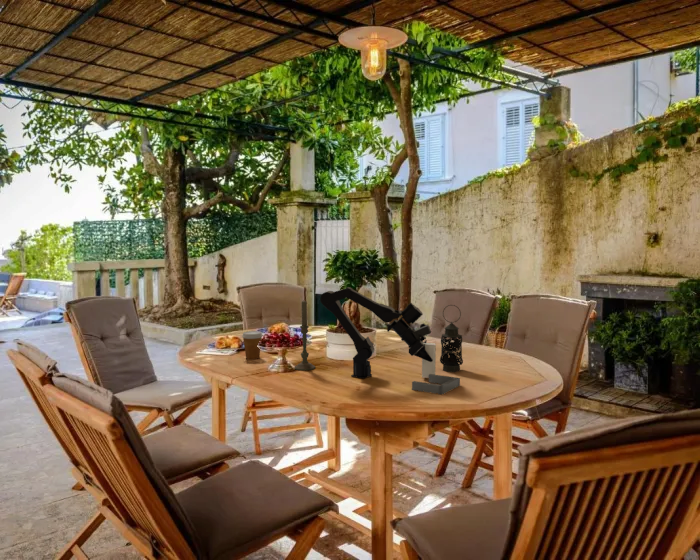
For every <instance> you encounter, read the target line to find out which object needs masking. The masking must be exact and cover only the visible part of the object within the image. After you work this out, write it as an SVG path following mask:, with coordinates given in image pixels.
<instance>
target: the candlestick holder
mask: <svg viewBox="0 0 700 560" xmlns="http://www.w3.org/2000/svg"><path fill="white" fill-rule="evenodd" d="M307 304H308V303H307V300H304V299H302V300H301V325H300V326H299V327H300V333H301V334H302V338H301V341H302V352H301V353H300V356H301V358H302V360H301V362H298V364H296V365H295V366H294V369H295V370H297V371H312V370H315V369H316V365H314V364H313V363H311V362H309V361H308V358H309V352H308V351H307V340H308V338H307V337H308V336H307V334H308V333H309V330H308V329H309V327H310V326H309V325H308V320H307V319H308V317H307V316H308V315H307V314H308V313H307V311H308V309H307V308H308V307H307Z"/></svg>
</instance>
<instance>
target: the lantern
mask: <svg viewBox="0 0 700 560" xmlns="http://www.w3.org/2000/svg"><path fill="white" fill-rule="evenodd" d="M449 306H452V307H456V308H457V309H458V311H459V317H458V319H457V320H455V321H448V319H446V318H445V315H444V314H442V316H443V319H444V320H445V321H446V322H448V323H449V324H448V325H447V326H445V327H444V329H445V330H444V333H442V334H441V337H440V344H441V352H440V353H441V354H440V357H439V363H440V364H441V365H442V371H444V372H448V373H449V372H450V373H457V372H458V373H459V372H460V370H461V366H462V365H463V363H464V360H463V359H464V358H463V350H462V349H463V348H462V347H463V346H462V344H463V335H462V334H460V333H459V329H460V328H459V327H458V326H457V325H455V324H454V323H456V322H458V321H459V320H460V318H461V316H462V312H461V309H460V308H459V307H458V306H457V305H455V304H449V305H446V306H445V308H443V311H442V313H444V311H445V310H446V308H447V307H449Z"/></svg>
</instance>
